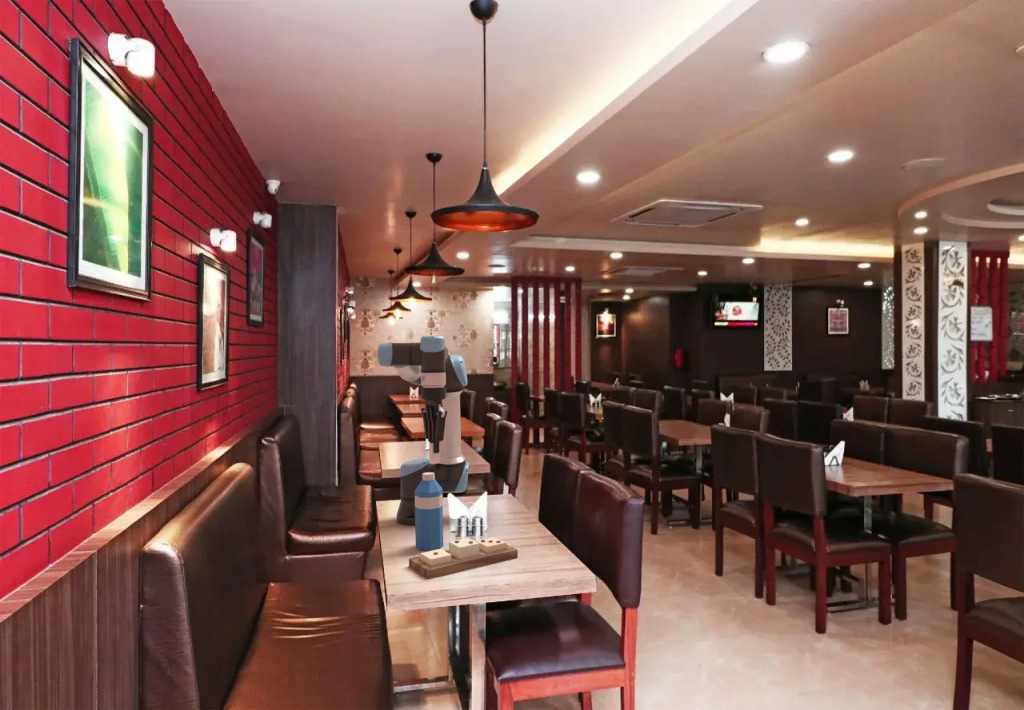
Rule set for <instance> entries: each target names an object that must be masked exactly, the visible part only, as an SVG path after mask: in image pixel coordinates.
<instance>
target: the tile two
mask: <svg viewBox="0 0 1024 710" xmlns="http://www.w3.org/2000/svg"><path fill="white" fill-rule="evenodd" d="M448 550H449V554H451V556H453V557H455V558H457V559H459V560H461V559H466V558H470V557H474V556H479V543H477V542H476V540H473V539H472V538H470V537H466V538H461V539H456V540H451V541H448Z"/></svg>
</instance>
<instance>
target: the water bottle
mask: <svg viewBox="0 0 1024 710" xmlns="http://www.w3.org/2000/svg"><path fill="white" fill-rule="evenodd" d="M443 494H444V493H443V492H442V488H441V486H440V485H439V484H438V483H437V481H436V480H435V473H432V472H427V473H423V474H422V481H421V482H420V484H419V485H418V487H417V488H416V489H415V525H414V527H415V528H414V529H415V533H414V534H415V549H417V550H419V551H421V552H428V551H433V550H437V549H442V548H443V547H444V514H443V513H444V507H443V506H444V504H443V503H444V499H443V497H444V495H443Z"/></svg>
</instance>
